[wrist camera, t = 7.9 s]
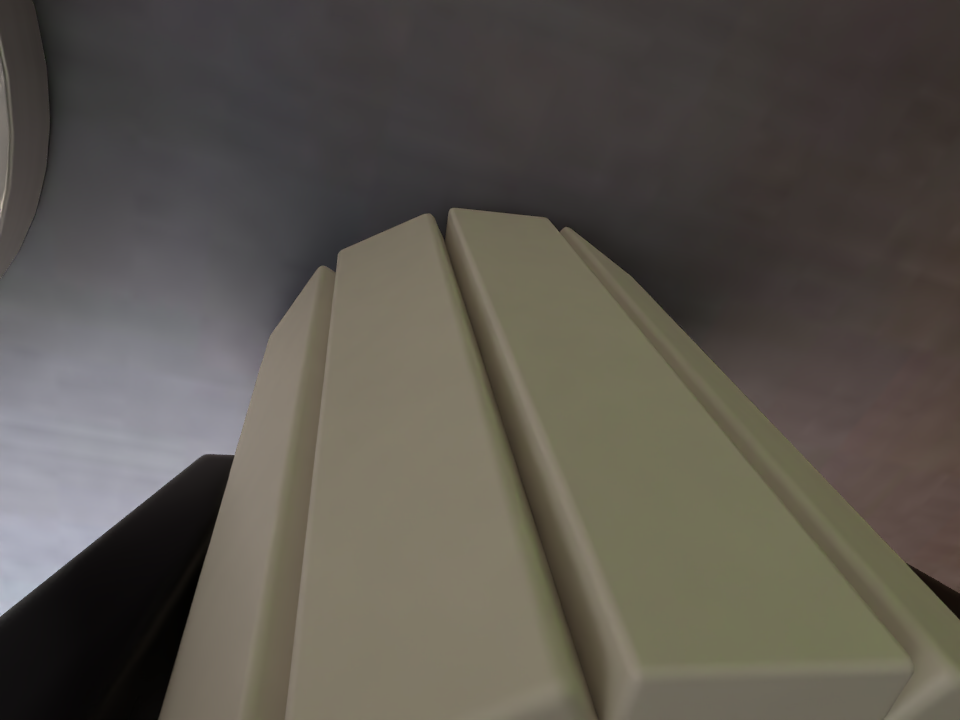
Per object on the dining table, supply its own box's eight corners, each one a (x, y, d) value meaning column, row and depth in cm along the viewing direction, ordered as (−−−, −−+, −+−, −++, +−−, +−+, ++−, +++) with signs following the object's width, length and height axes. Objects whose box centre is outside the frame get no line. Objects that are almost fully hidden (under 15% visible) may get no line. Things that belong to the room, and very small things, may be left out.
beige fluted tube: (262, 553, 11) (130, 1244, 5) (263, 186, 8) (-24, 696, 2) (609, 555, 12) (852, 1114, 6) (707, 233, 10) (1317, 654, 3)
